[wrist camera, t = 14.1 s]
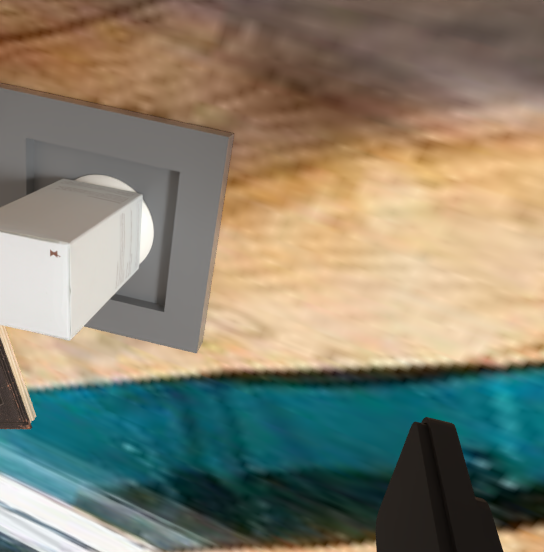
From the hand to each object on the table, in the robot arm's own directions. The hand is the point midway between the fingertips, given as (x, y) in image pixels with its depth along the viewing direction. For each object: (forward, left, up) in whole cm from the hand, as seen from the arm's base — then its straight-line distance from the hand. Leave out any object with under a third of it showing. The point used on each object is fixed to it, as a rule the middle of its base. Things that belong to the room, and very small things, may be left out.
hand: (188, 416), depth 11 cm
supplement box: (+16, +10, -32) cm, 38 cm away
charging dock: (+16, +10, -33) cm, 38 cm away
